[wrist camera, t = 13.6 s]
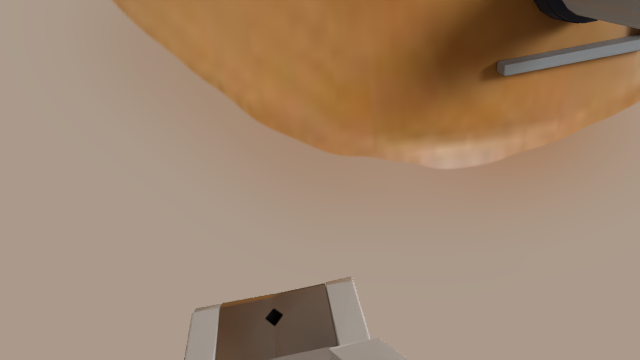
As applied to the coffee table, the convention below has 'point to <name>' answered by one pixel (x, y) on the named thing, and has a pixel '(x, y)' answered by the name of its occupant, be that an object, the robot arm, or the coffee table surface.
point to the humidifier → (593, 11)
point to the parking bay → (568, 55)
